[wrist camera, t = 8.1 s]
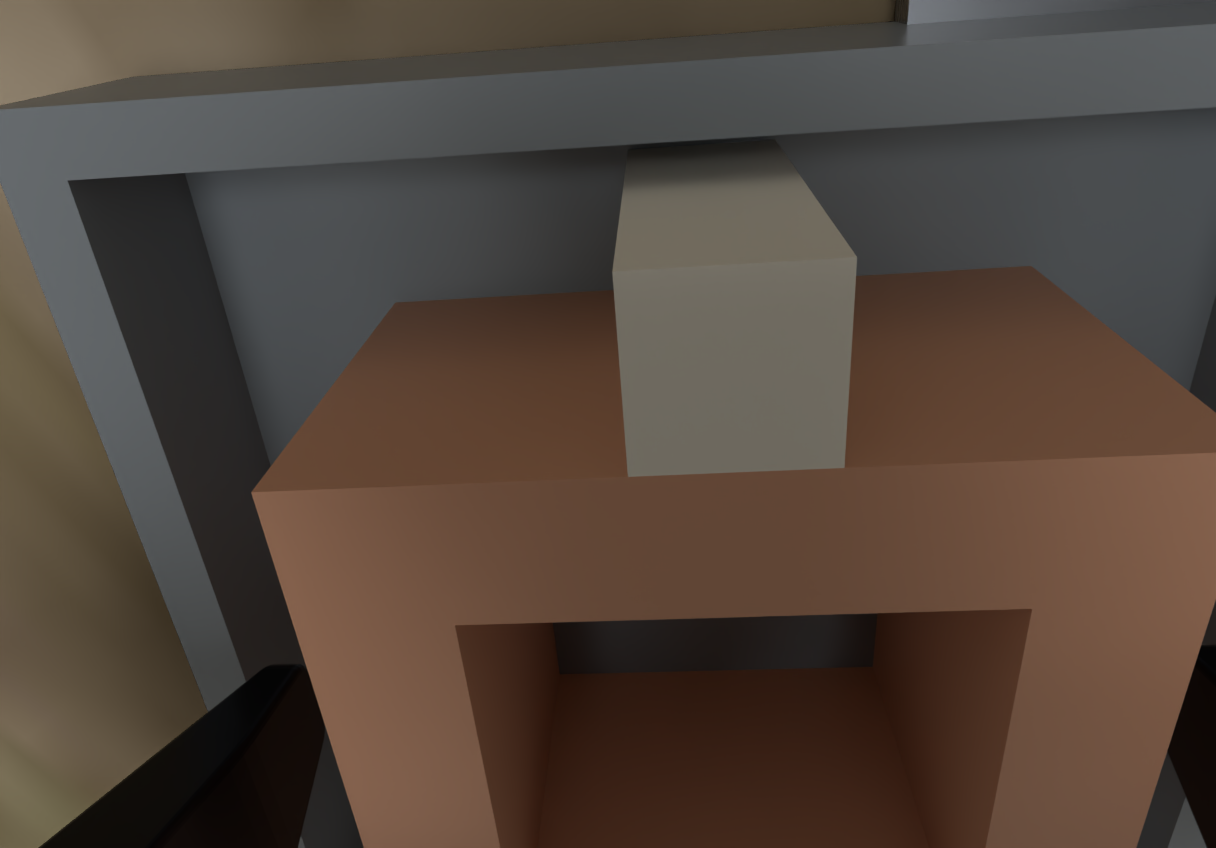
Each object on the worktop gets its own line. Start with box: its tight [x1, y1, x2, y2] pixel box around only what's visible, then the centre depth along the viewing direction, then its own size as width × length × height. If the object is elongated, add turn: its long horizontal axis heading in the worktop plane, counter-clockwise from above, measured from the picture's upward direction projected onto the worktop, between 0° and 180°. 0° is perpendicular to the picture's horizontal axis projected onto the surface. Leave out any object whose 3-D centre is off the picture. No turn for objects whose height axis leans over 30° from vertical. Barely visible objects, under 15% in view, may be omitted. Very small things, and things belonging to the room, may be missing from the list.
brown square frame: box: [251, 140, 1216, 848], centre depth 9 cm, size 8×7×4 cm
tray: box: [0, 2, 1216, 848], centre depth 11 cm, size 12×12×2 cm
